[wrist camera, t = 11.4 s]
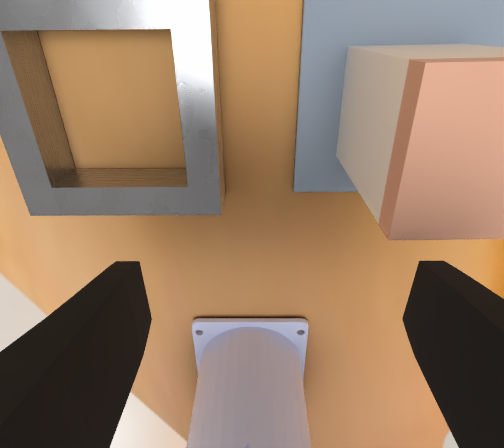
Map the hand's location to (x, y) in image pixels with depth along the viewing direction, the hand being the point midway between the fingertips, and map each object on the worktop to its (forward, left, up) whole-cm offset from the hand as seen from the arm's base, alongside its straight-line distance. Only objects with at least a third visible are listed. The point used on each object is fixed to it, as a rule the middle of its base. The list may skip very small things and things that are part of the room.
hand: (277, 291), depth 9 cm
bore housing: (+3, +7, -10) cm, 13 cm away
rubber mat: (+3, -6, -10) cm, 12 cm away
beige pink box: (+3, -6, -10) cm, 12 cm away
